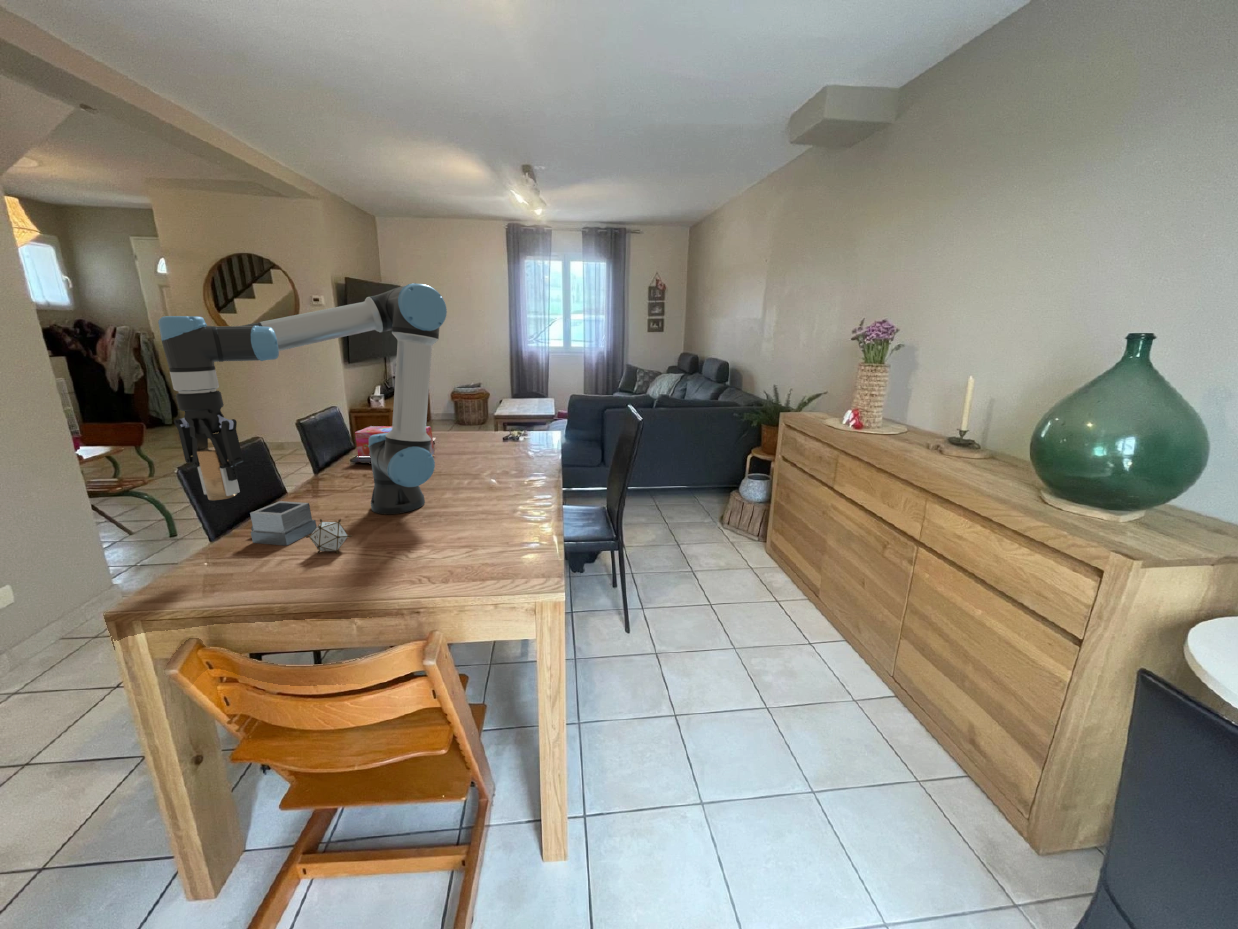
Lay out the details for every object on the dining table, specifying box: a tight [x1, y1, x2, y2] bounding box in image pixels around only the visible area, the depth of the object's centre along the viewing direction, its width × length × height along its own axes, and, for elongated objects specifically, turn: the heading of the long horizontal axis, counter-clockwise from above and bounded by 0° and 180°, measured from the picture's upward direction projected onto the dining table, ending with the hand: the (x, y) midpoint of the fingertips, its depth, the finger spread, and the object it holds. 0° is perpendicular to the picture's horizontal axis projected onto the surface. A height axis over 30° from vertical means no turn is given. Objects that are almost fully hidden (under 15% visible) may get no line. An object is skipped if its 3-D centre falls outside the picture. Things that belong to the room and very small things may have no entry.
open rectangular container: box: [249, 500, 318, 546], centre depth 127 cm, size 14×10×8 cm
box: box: [354, 425, 435, 457], centre depth 202 cm, size 27×13×14 cm, turn 87°
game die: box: [304, 518, 353, 555], centre depth 118 cm, size 9×8×10 cm
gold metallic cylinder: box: [196, 446, 238, 501], centre depth 109 cm, size 5×5×11 cm
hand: (222, 493), depth 111 cm, fingers closed on gold metallic cylinder, 5 cm apart
